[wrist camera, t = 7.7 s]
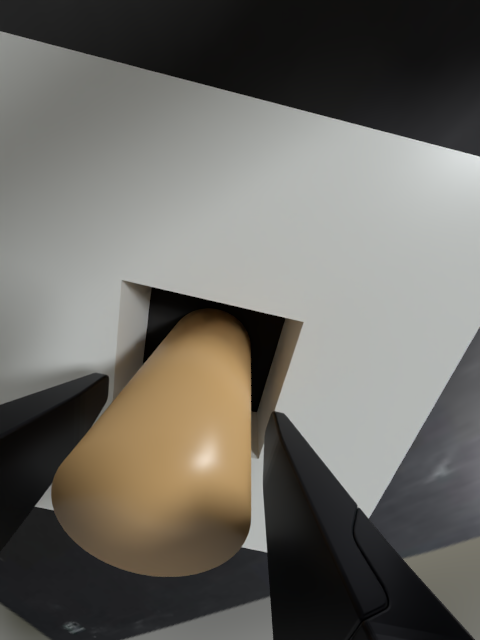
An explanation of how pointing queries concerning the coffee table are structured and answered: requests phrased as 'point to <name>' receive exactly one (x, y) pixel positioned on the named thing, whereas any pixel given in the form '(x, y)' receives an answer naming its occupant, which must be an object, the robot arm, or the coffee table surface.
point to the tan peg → (168, 457)
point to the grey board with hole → (233, 249)
